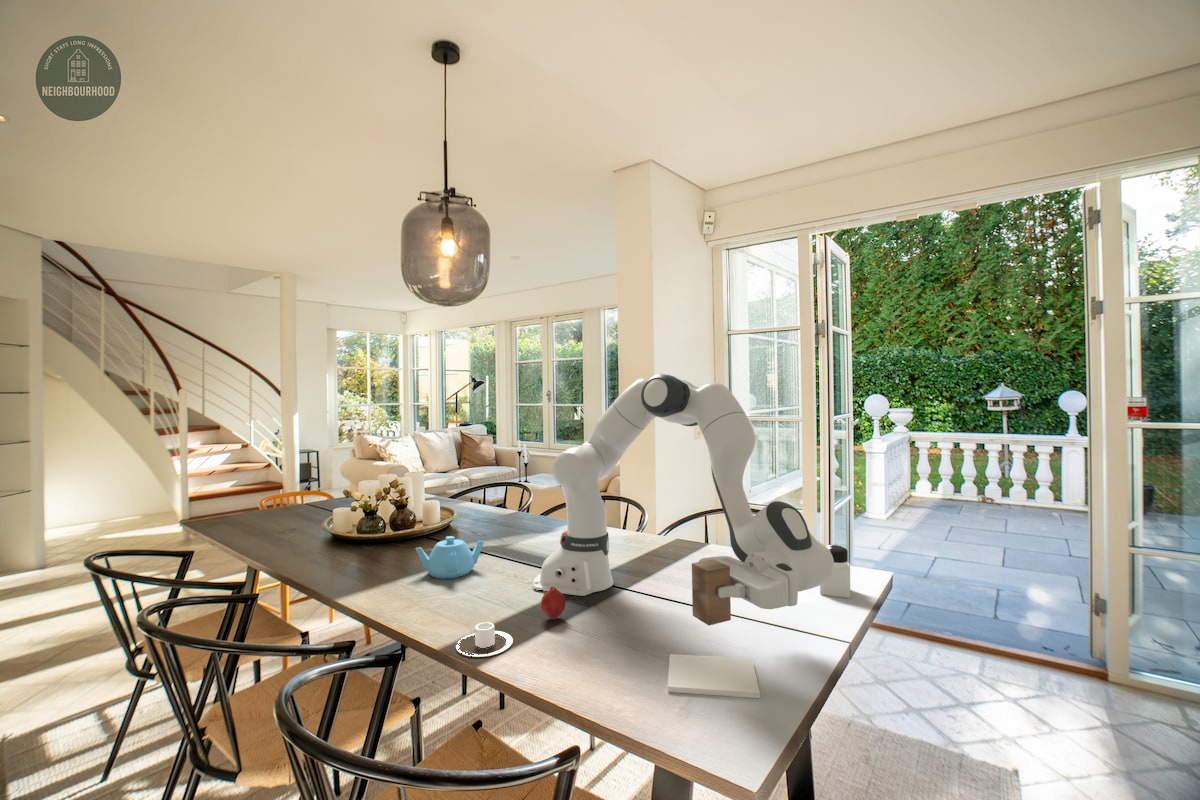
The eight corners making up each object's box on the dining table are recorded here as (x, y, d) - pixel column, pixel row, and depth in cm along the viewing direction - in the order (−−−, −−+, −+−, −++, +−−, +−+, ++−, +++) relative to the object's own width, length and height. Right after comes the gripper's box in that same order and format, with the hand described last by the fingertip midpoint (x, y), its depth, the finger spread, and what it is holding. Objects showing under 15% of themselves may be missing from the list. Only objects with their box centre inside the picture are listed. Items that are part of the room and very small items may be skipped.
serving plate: (667, 691, 98) (667, 686, 98) (669, 659, 110) (669, 654, 110) (760, 698, 95) (759, 692, 95) (751, 663, 107) (751, 658, 107)
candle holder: (501, 662, 110) (501, 641, 110) (446, 658, 112) (445, 637, 112) (520, 635, 122) (519, 616, 122) (469, 632, 124) (469, 613, 124)
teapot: (487, 568, 168) (487, 533, 168) (454, 584, 155) (453, 546, 154) (449, 562, 175) (448, 528, 175) (414, 576, 161) (413, 540, 161)
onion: (541, 614, 132) (541, 581, 132) (565, 613, 133) (564, 580, 133) (541, 624, 127) (540, 590, 126) (565, 623, 127) (565, 589, 127)
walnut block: (692, 615, 103) (691, 563, 103) (714, 610, 105) (713, 559, 105) (708, 625, 99) (707, 570, 99) (730, 620, 101) (729, 566, 101)
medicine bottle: (850, 589, 145) (849, 544, 145) (850, 599, 139) (849, 552, 138) (821, 585, 148) (821, 541, 148) (820, 595, 142) (819, 549, 141)
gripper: (730, 545, 117) (676, 555, 111) (803, 574, 98) (742, 587, 92) (731, 574, 117) (676, 585, 111) (803, 608, 98) (742, 624, 93)
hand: (706, 586), depth 102 cm, fingers closed on walnut block, 5 cm apart
